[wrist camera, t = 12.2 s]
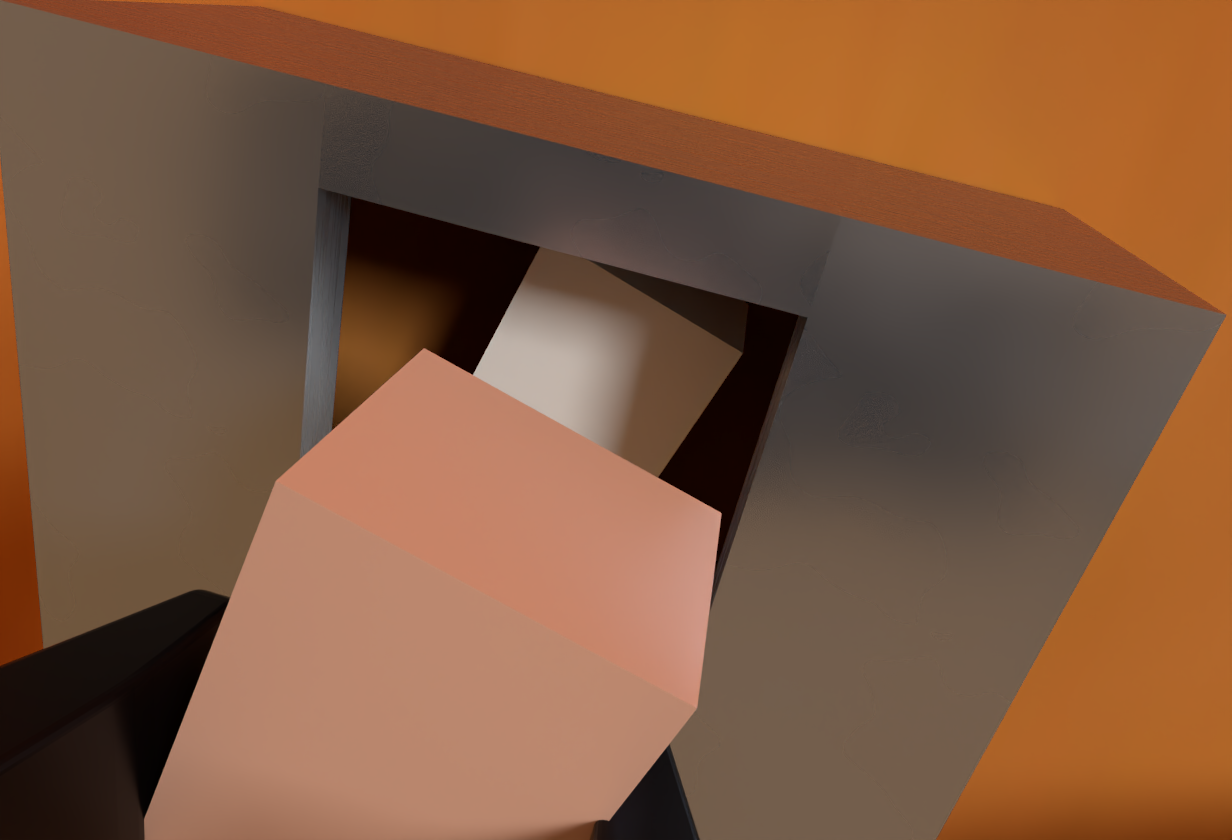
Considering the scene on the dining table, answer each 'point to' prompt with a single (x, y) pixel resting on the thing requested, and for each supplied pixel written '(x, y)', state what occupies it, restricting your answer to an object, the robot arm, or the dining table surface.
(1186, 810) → the dining table surface
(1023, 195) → the dining table surface
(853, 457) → the box
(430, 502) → the pink rectangular block
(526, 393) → the white rectangular block
